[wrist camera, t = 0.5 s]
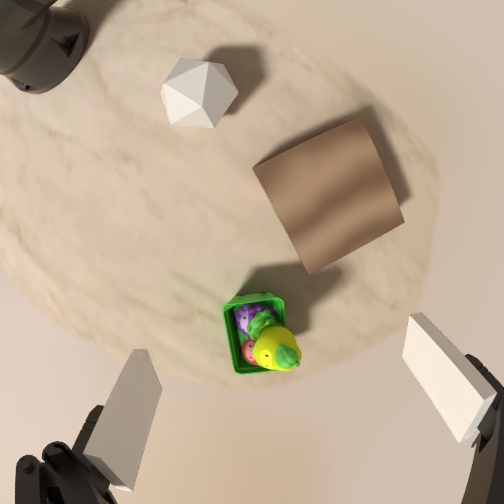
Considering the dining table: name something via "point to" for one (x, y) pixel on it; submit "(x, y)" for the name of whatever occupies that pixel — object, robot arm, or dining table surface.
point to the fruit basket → (259, 334)
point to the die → (197, 93)
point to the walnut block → (331, 194)
